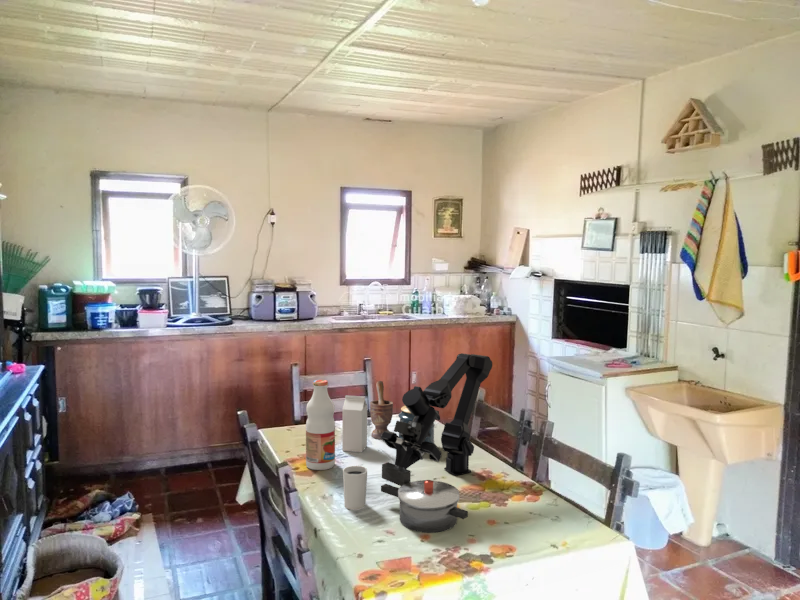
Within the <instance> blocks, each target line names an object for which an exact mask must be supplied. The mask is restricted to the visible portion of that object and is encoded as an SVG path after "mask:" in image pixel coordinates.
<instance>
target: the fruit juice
mask: <svg viewBox="0 0 800 600" xmlns="http://www.w3.org/2000/svg"><path fill="white" fill-rule="evenodd" d="M328 386H329V381H328V380H326V379H315V380H313V381H312V387H313V392H312V395H311V398H310V399H309V401H308V402H307V404H306V409H305V411H306V414H307V419H306V422H305V463H306V464H305V465H306V468H308V469H309V470H313V471H323V470H328V469H332V468H333V467H334V466H335V462H336V421H335V418H334V413H335V409H336V408H335V403H334V402H333V401H332V399H331V398H330V395H329V392H328Z"/></svg>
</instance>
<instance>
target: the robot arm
mask: <svg viewBox="0 0 800 600" xmlns="http://www.w3.org/2000/svg"><path fill="white" fill-rule="evenodd" d="M492 369H493V361H492V360H491V358H490V356H488V355H482V354H474V353H473V354H472V353H471V354H469V353H461V352H460V353H459V354H457V356H456V358H455V360H454V361H453V363H451V365H450V366H449V367H448V368H447V370H446V371H445V373H444V374H443V375H442V376H441V377H440V378H439V379H438V380H436V381H433V382H431V383H430V384H428V385H427V386H426V387H425V388H424V390H423V389H422V388H421V386H417V385H415V386H414V387H413V388H412V389H411V388H410V389H409V390H408V391H406V392H405V393H404V394H403V395H402V404H403V406H406V407H407V408H408V410H409V411H410V412H411V414H412V415H414V416H415V417H414V419H413V421H409V422H408V423H405V422H401V421H400V420H396V422H395V425H394V429H393V431H390V430H389V431H384V432H383V434H382V435H381V437H380V438H381V439H380V440H382V441H383V443H385V445H387V447H388V448H390V449H394V450H396V451H395V462H394V465H397V466H399V467H402V468H404V469H407V470H408V468H409V467H411V466H412V465H414V464H416V463H417V462H419V461H421V460H424V457H423V456H424V454H428V458H429V459H430V460H431V461H434V462H437V463H439V462H440V460H441V458H442V453H443V452H446V458H445V460H446V461H445V467H444V471H446V472H448V473H449V474H452V475H453V476H460V475H464V474H469V473H472V470H471V469H470V468H469V466H470V465H469V464H470V463H469V461H470V457H471V456H472V455H473V454H474V450H475V449H474V448H475V445H474V444H473V443H472V442H471V441H470V436H471V432H470V427H469V423H470V420H471V416H472V413H473V410H474V406H475V404H476V400H477V397H478V394H479V390H480V387H481V384H482V383H483V382H484V381H485V380H486V379H488V377H489V375H490V373H491V370H492ZM464 376H465V377H466V379H465V382H464V384H463V387H462V390H461V394H460V397H459V400H458V404H457V406H456V410H455V414H454V417H453V419H452V420H451V421H450V422H445V424H444V428H443V430H442V432H441V437H440V441H441V447H442V451H443V452H442V451H441V449H440V448H439V447H438V446H437V445H436V444H435V442H434V443H430V442H426V441H425V439H426V437H430V435H431V434H430V433H429V431H430V429H431V427H432V425H433V423H434V424H435V421H441V415H440V411H439V410H437V409H445V408H446V407H447V405H448V404H449V403H450V400H451V399H452V397H453V396H452V392H453V389H454V388H455V387H456V386H457V384H458V383H459V382H460V381H461V380H462V378H463V377H464ZM435 408H437V409H435ZM397 433H398V434H397ZM399 433H400V436H401V437H403V439H401V438H399Z"/></svg>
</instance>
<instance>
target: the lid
mask: <svg viewBox="0 0 800 600" xmlns="http://www.w3.org/2000/svg"><path fill="white" fill-rule="evenodd" d="M411 477H412V475H411V470H410V469H408V468H407V469H404V468H402V467H399V466H397V465H395V463H391V462H384V463H382V464H381V478H382V479H383V480H386V481H388V482H390V483H392V484H394V485H398V486H400V487H398V488H399V489H398V497H397V498H398V500H399V502H400V501H401V502H402V503H403V504H405V505H407V506H410V507H413V508H418V509H426V510H435V509H443V508H447V507H450V506H453V505H455V504H456V503H457V504H458V502H459V501H460V491H459V488H457V487H455V486H454V485H452V484H450V483H448V482H442V481H439V480H431V479H425V480H415V481H411Z"/></svg>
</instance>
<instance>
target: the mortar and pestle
mask: <svg viewBox="0 0 800 600" xmlns="http://www.w3.org/2000/svg"><path fill="white" fill-rule="evenodd" d="M375 385H376V392H377V398H378V399H377V400H371V401H370V402H369V404H370V406H369V407H370V412H369V413H370V419H371V422H372V424H373V426H374V427H375V428H374V429H373V430H372V431H371V434H370V435H371V437H372V438H374V439H378V440H382V439H381V438H380V437H381V435H382V434H383V432H384V431H390V430H389V429H388V426H389V425H390V424H391V423H392V418H393V414H394V413H393V409H394V407H393V406H394V403H393V401H390V400H385V398H384V381H381V380H379V381H376V384H375Z"/></svg>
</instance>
